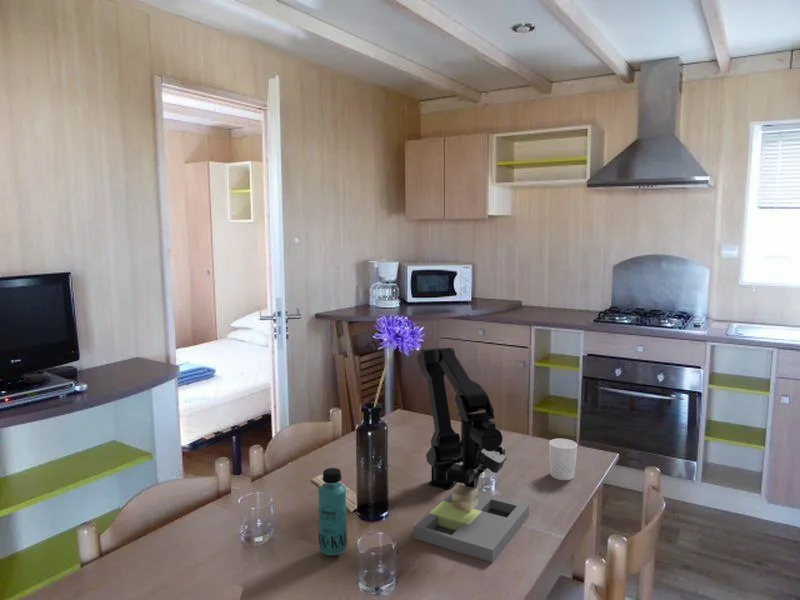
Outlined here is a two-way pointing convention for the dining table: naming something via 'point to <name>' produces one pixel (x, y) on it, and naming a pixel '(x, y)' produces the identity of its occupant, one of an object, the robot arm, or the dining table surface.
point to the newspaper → (350, 495)
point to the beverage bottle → (332, 513)
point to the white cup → (562, 458)
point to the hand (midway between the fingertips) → (471, 494)
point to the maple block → (465, 498)
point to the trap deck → (473, 526)
